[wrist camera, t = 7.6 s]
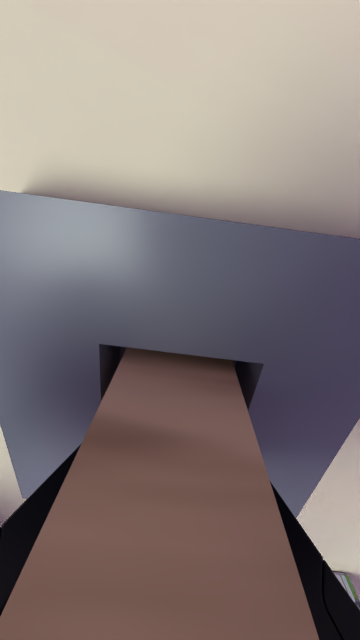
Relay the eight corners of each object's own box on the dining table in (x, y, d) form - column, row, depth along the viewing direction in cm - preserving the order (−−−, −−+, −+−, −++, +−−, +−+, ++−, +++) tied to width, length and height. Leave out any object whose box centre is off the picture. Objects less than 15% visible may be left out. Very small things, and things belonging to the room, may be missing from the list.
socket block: (269, 462, 16) (290, 526, 13) (57, 438, 16) (22, 497, 12) (370, 240, 10) (463, 253, 6) (18, 193, 9) (-73, 180, 6)
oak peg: (211, 422, 12) (263, 865, 4) (127, 413, 12) (-6, 846, 4) (229, 352, 10) (408, 925, 2) (130, 340, 10) (-129, 890, 2)
